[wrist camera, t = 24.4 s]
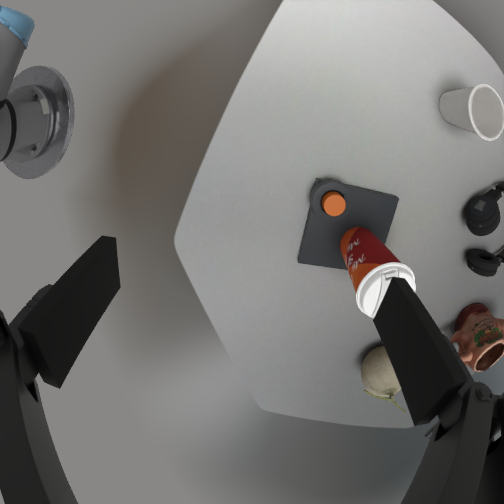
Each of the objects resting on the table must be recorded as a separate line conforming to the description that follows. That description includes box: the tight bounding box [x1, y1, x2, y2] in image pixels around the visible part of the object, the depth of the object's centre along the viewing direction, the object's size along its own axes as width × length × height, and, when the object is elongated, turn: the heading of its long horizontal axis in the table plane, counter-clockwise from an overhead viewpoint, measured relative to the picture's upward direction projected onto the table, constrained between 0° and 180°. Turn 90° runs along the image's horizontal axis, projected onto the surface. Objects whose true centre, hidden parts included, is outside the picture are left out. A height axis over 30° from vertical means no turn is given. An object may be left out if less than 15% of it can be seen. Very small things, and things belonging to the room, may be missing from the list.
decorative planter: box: [450, 303, 504, 372], centre depth 49 cm, size 20×12×14 cm, turn 103°
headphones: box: [465, 182, 504, 277], centre depth 41 cm, size 17×8×20 cm
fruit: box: [361, 346, 406, 413], centre depth 53 cm, size 10×12×15 cm
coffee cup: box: [340, 227, 416, 318], centre depth 39 cm, size 8×8×15 cm
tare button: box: [322, 191, 346, 216], centre depth 40 cm, size 3×3×2 cm
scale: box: [298, 178, 399, 270], centre depth 44 cm, size 14×15×3 cm
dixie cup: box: [439, 84, 504, 141], centre depth 30 cm, size 8×8×10 cm
